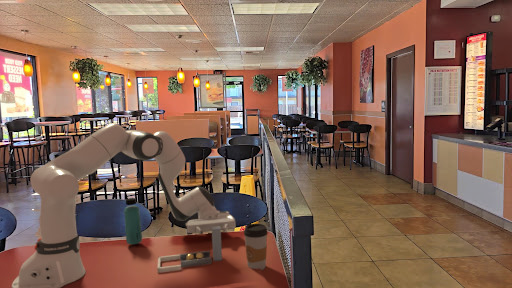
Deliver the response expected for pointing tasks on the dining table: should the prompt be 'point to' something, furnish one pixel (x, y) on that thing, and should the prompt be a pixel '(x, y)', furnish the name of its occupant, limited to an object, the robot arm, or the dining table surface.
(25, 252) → the dining table surface
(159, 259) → the ball tray
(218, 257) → the tall gray pillar
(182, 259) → the slot rail
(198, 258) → the brass sphere
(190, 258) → the gold metallic ball
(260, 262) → the coffee cup
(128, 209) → the beverage bottle
